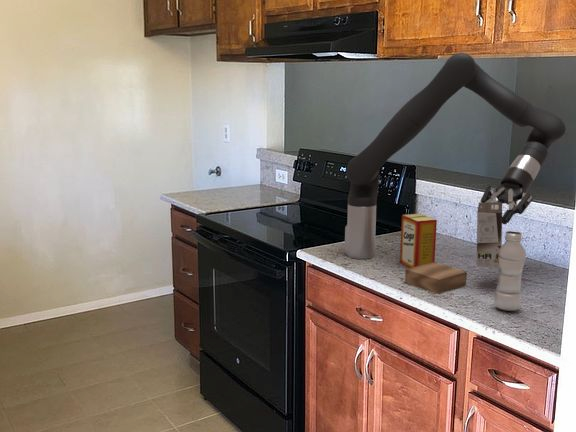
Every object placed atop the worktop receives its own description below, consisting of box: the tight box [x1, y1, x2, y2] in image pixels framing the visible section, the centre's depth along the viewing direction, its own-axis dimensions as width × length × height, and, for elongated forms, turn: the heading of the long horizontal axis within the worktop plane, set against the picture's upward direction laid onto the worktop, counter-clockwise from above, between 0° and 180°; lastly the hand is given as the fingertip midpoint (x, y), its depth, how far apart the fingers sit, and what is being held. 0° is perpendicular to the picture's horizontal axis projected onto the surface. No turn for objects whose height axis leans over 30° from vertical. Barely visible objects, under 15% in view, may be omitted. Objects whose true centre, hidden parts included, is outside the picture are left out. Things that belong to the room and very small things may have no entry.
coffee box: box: [476, 201, 503, 269], centre depth 171 cm, size 9×6×16 cm
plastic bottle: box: [493, 230, 527, 312], centre depth 154 cm, size 6×7×20 cm
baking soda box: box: [399, 213, 438, 269], centre depth 191 cm, size 10×6×16 cm
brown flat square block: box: [404, 261, 468, 295], centre depth 176 cm, size 12×12×4 cm
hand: (492, 220), depth 172 cm, fingers closed on coffee box, 6 cm apart
